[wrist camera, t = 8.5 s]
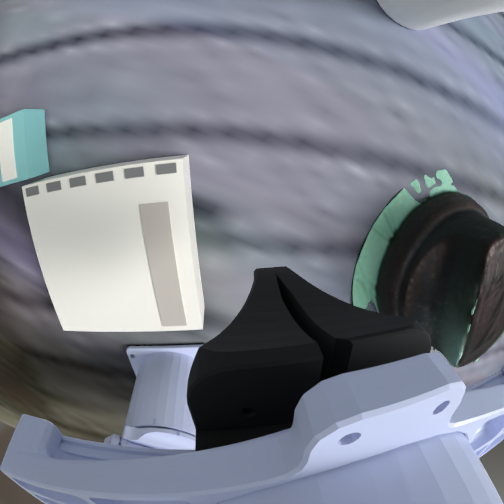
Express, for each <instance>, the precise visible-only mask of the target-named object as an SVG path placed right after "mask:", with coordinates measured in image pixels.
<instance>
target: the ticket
mask: <svg viewBox="0 0 504 504" xmlns="http://www.w3.org/2000/svg"><path fill="white" fill-rule="evenodd" d="M22 191H23V196H24V202H25V207H26V212H27V217H28V221H29V226H30V230H31V234H32V238H33V242H34V246H35V250H36V253H37V257H38V260H39V264H40V267H41V270H42V273H43V277H44V280H45V283H46V286H47V288H48V291H49V294H50V297H51V300H52V302H53V305H54V308H55V310H56V313H57V315H58V318H59V320H60V323H61V325H62V328H63V330H64V331H98V332H139V331H177V330H198V329H203V318H204V299H203V292H202V284H201V277H200V269H199V260H198V252H197V243H196V234H195V224H194V214H193V204H192V193H191V181H190V168H189V154H188V155H178V156H169V157H160V158H152V159H144V160H137V161H130V162H124V163H117V164H111V165H105V166H99V167H94V168H89V169H83V170H78V171H73V172H68V173H64V174H59V175H55V176H50V177H46V178H43V179H40V180H37V181H35V182H32V183H29V184H27V185H24V186H22Z"/></svg>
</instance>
